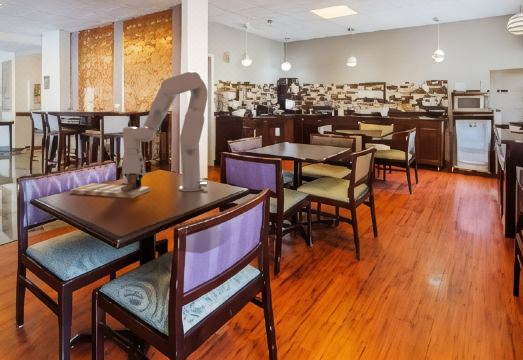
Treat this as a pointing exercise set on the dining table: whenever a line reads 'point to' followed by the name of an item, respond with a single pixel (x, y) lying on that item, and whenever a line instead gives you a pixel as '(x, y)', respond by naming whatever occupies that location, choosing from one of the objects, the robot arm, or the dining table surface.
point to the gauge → (130, 182)
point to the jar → (124, 177)
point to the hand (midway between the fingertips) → (134, 186)
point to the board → (109, 190)
